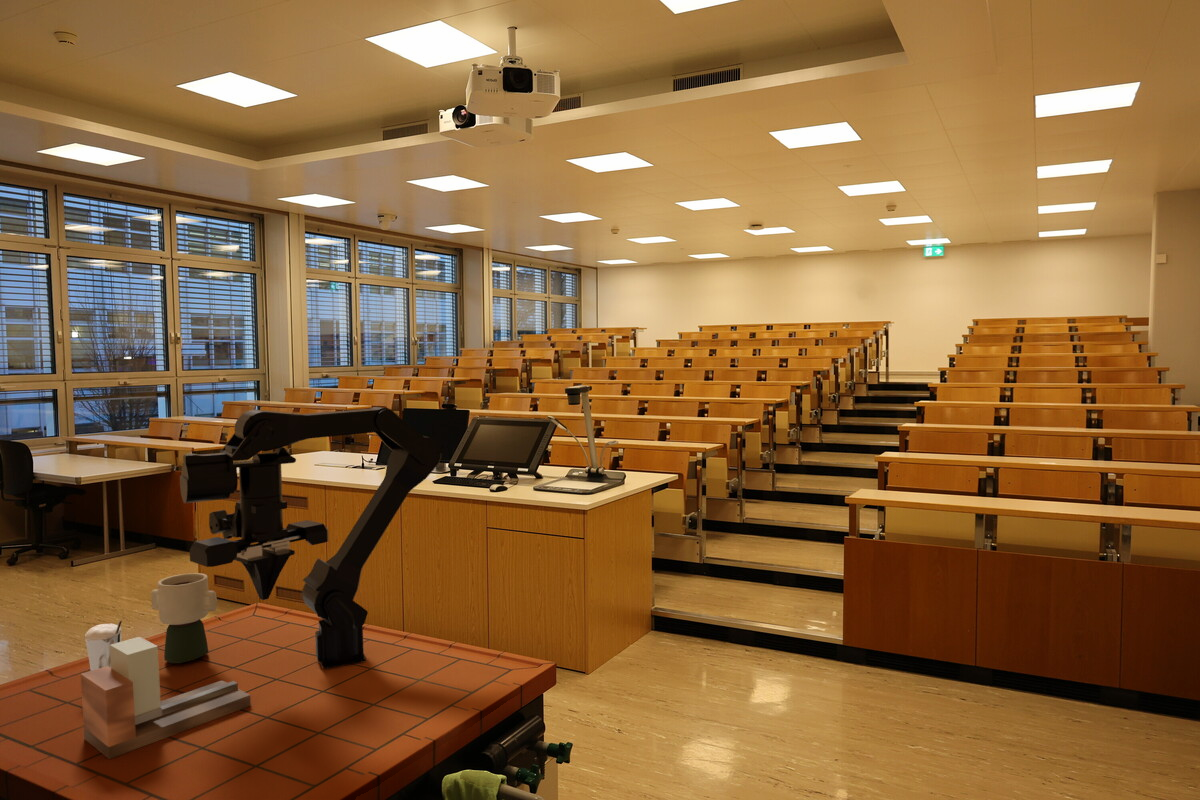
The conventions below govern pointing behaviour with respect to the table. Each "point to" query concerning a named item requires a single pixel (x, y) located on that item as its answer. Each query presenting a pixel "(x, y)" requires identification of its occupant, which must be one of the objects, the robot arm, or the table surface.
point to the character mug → (184, 614)
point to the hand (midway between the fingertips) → (264, 599)
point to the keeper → (139, 675)
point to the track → (115, 719)
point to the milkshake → (101, 644)
